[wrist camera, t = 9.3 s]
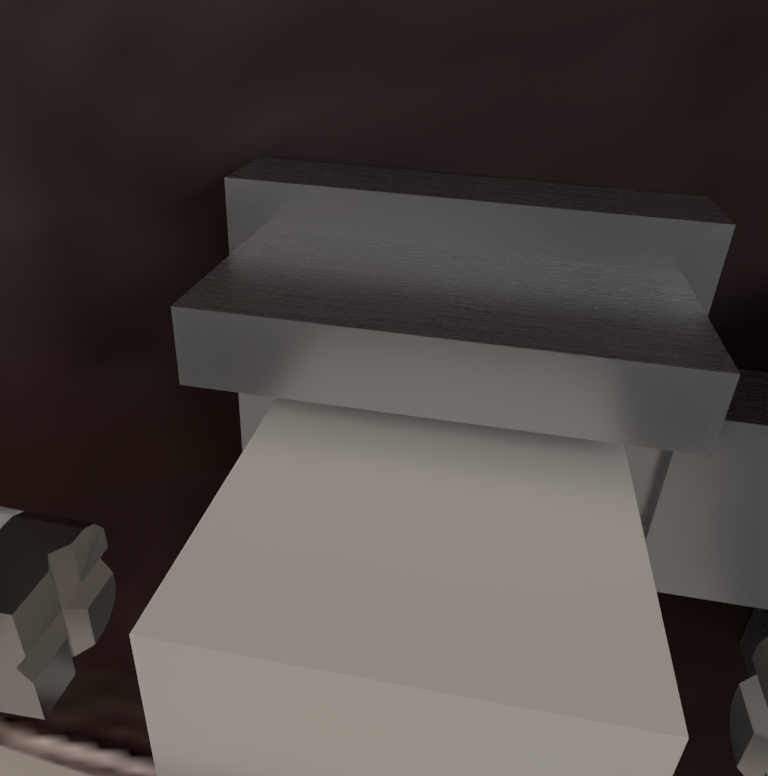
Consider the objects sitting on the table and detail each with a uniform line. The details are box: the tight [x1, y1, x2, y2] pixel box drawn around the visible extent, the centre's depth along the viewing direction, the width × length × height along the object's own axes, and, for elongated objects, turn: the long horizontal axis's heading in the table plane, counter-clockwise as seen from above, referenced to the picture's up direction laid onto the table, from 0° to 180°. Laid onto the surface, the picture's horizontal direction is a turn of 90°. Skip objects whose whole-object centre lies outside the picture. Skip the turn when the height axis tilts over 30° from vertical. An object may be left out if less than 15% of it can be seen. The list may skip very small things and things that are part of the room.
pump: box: [129, 398, 689, 776], centre depth 10 cm, size 4×6×6 cm
